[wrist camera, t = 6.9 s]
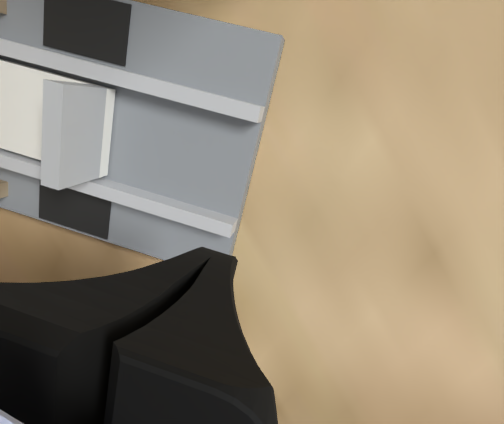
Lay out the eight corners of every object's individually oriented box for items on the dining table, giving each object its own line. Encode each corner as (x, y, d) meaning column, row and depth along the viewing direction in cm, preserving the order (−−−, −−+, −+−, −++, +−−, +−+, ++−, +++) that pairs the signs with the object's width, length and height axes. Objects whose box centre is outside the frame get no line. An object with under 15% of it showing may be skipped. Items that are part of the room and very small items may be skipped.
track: (228, 270, 22) (217, 289, 20) (-113, 161, 25) (-156, 166, 23) (284, 40, 17) (279, 30, 15) (-142, -60, 20) (-200, -81, 18)
